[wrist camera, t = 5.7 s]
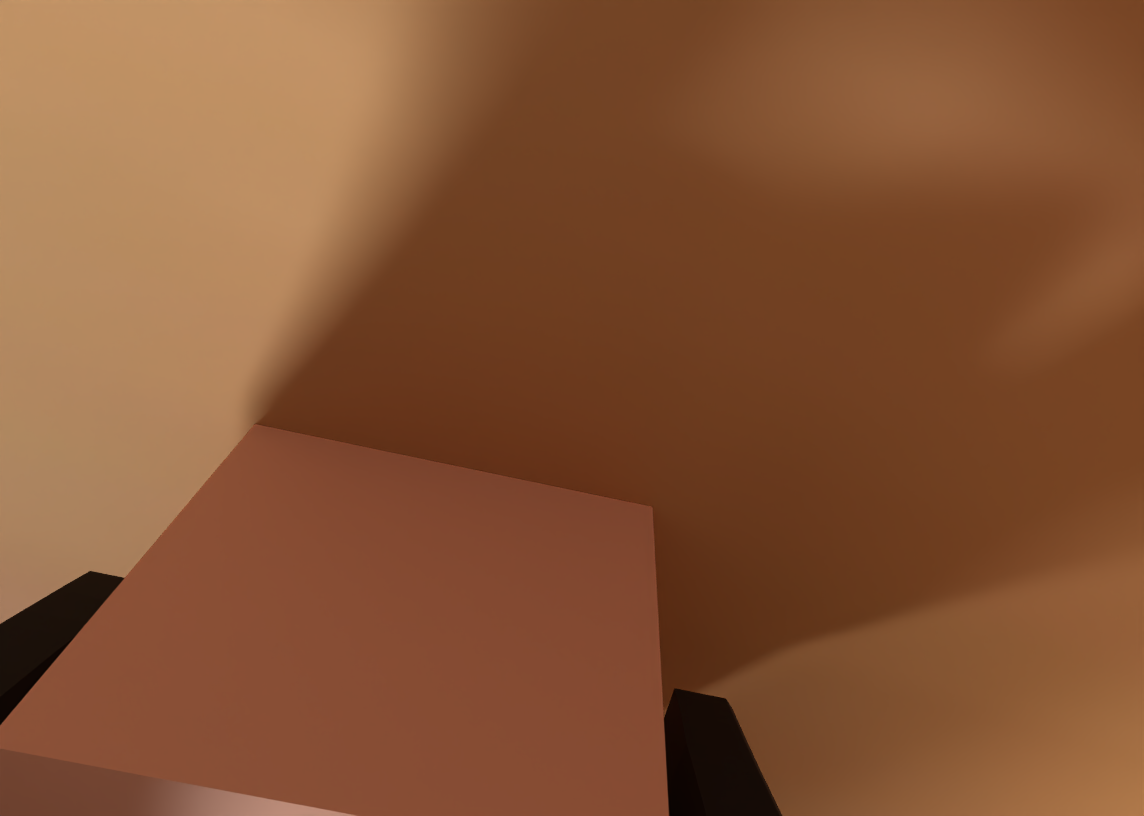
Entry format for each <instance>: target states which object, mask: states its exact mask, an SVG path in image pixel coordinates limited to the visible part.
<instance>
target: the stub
mask: <svg viewBox="0 0 1144 816" xmlns="http://www.w3.org/2000/svg"><path fill="white" fill-rule="evenodd" d="M0 816H669V807H668V788H667V769H666V751H665V732H664V713H663V694H662V675H661V656H660V638H659V619H658V600H657V581H656V562H655V543H654V524H653V507H651V506H646V505H642V504H637V503H632V502H627V501H622V500H618V499H613V498H608V497H603V496H598V495H594V494H589V493H584V492H579V491H574V490H570V489H565V488H560V487H555V486H550V485H546V484H541V483H536V482H531V481H526V480H522V479H517V478H512V477H507V476H502V475H498V474H493V473H488V472H483V471H478V470H474V469H469V468H464V467H459V466H454V465H450V464H445V463H440V462H435V461H430V460H426V459H421V458H416V457H411V456H406V455H402V454H397V453H392V452H387V451H382V450H378V449H373V448H368V447H363V446H358V445H354V444H349V443H344V442H339V441H334V440H330V439H325V438H320V437H315V436H310V435H306V434H301V433H296V432H291V431H286V430H282V429H277V428H272V427H267V426H262V425H258V424H254V426H253V427H252V428H251V429H250V430H249V432H248V433H247V434H246V435H245V436H244V437H243V439H242V440H241V441H240V442H239V443H238V445H237V446H236V447H235V448H234V449H233V451H232V452H231V453H230V454H229V455H228V456H227V458H226V459H225V460H224V461H223V462H222V464H221V465H220V466H219V467H218V468H217V469H216V471H215V472H214V473H213V474H212V475H211V477H210V478H209V479H208V480H207V481H206V482H205V484H204V485H203V486H202V487H201V488H200V490H199V491H198V492H197V493H196V494H195V496H194V497H193V498H192V499H191V500H190V501H189V503H188V504H187V505H186V506H185V507H184V509H183V510H182V511H181V512H180V513H179V514H178V516H177V517H176V518H175V519H174V520H173V522H172V523H171V524H170V525H169V526H168V527H167V529H166V530H165V531H164V532H163V533H162V535H161V536H160V537H159V538H158V539H157V540H156V542H155V543H154V544H153V545H152V546H151V548H150V549H149V550H148V551H147V552H146V554H145V555H144V556H143V557H142V558H141V559H140V561H139V562H138V563H137V564H136V565H135V567H134V568H133V569H132V570H131V571H130V572H129V574H128V575H127V576H126V577H125V578H124V580H123V581H122V582H121V583H120V584H119V585H118V587H117V588H116V589H115V590H114V591H113V593H112V594H111V595H110V596H109V597H108V599H107V600H106V601H105V602H104V603H103V604H102V606H101V607H100V608H99V609H98V610H97V612H96V613H95V614H94V615H93V616H92V617H91V619H90V620H89V621H88V622H87V623H86V625H85V626H84V627H83V628H82V629H81V630H80V632H79V633H78V634H77V635H76V636H75V638H74V639H73V640H72V641H71V642H70V643H69V645H68V646H67V647H66V648H65V649H64V651H63V652H62V653H61V654H60V655H59V657H58V658H57V659H56V660H55V661H54V662H53V664H52V665H51V666H50V667H49V668H48V670H47V671H46V672H45V673H44V674H43V675H42V677H41V678H40V679H39V680H38V681H37V683H36V684H35V685H34V686H33V687H32V688H31V690H30V691H29V692H28V693H27V694H26V696H25V697H24V698H23V699H22V700H21V702H20V703H19V704H18V705H17V706H16V707H15V709H14V710H13V711H12V712H11V713H10V715H9V716H8V717H7V718H6V719H5V720H4V722H3V723H2V724H1V725H0Z"/></svg>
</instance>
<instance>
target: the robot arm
mask: <svg viewBox="0 0 1144 816" xmlns="http://www.w3.org/2000/svg"><path fill="white" fill-rule="evenodd" d="M123 580H124V578H122V577H117V576H112V575H107V574H102V573H98V572H93V571H89V572H88V573H86V574H84V575H82V576H81V577H79V578H77V579H75V580H74V581H72V582H70V583H68V584H67V585H65V586H63V587H62V588H60V589H58V590H57V591H55V592H53V593H51V594H50V595H48V596H46V597H45V598H43V599H41V600H40V601H38V602H36V603H35V604H33V605H31V606H30V607H28V608H26V609H25V610H23V611H21V612H19V613H18V614H16V615H14V616H13V617H11V618H9V619H8V620H6V621H4V622H3V623H1V624H0V725H1V724H2V723H3V722H4V720H5V719H6V718H7V717H8V716H9V715H10V713H11V712H12V711H13V710H14V709H15V707H16V706H17V705H18V704H19V703H20V702H21V700H22V699H23V698H24V697H25V696H26V694H27V693H28V692H29V691H30V690H31V688H32V687H33V686H34V685H35V684H36V683H37V681H38V680H39V679H40V678H41V677H42V675H43V674H44V673H45V672H46V671H47V670H48V668H49V667H50V666H51V665H52V664H53V662H54V661H55V660H56V659H57V658H58V657H59V655H60V654H61V653H62V652H63V651H64V649H65V648H66V647H67V646H68V645H69V643H70V642H71V641H72V640H73V639H74V638H75V636H76V635H77V634H78V633H79V632H80V630H81V629H82V628H83V627H84V626H85V625H86V623H87V622H88V621H89V620H90V619H91V617H92V616H93V615H94V614H95V613H96V612H97V610H98V609H99V608H100V607H101V606H102V604H103V603H104V602H105V601H106V600H107V599H108V597H109V596H110V595H111V594H112V593H113V591H114V590H115V589H116V588H117V587H118V585H119V584H120V583H121V582H122V581H123ZM664 732H665V751H666V769H667V788H668V807H669V816H782V814H781V812H780V810H779V808H778V806H777V804H776V802H775V800H774V798H773V796H772V794H771V791H770V789H769V787H768V785H767V783H766V781H765V779H764V777H763V775H762V773H761V771H760V768H759V766H758V764H757V762H756V760H755V758H754V756H753V753H752V751H751V749H750V747H749V745H748V743H747V740H746V738H745V736H744V734H743V731H742V729H741V727H740V725H739V723H738V720H737V718H736V716H735V714H734V711H733V709H732V707H731V706H730V704H729V703H728V701H727V700H726V699H725V698H720V697H715V696H710V695H705V694H700V693H695V692H690V691H685V690H680V689H674V692H673V694H672V697H671V700H670V703H669V706H668V709H667V712H666V714H665V717H664Z"/></svg>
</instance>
